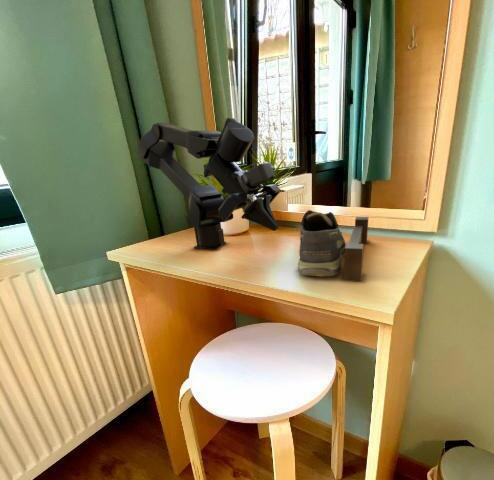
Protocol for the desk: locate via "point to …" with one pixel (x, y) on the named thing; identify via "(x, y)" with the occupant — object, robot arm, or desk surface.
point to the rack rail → (355, 250)
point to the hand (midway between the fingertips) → (276, 229)
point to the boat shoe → (320, 245)
